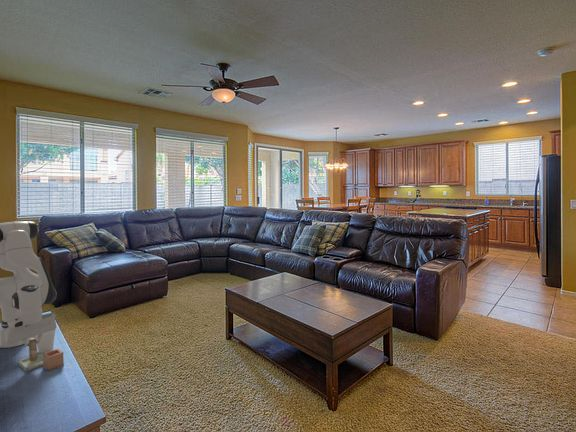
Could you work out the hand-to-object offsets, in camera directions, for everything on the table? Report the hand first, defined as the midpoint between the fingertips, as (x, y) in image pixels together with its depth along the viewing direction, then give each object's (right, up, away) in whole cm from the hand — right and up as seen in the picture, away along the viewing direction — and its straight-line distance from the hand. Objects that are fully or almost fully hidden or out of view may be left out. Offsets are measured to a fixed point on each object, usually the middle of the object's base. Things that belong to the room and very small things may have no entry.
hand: (32, 344), depth 159 cm
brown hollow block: (+12, -11, -1) cm, 16 cm away
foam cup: (-4, -9, +14) cm, 18 cm away
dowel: (0, -8, +1) cm, 8 cm away
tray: (0, -10, +1) cm, 10 cm away
